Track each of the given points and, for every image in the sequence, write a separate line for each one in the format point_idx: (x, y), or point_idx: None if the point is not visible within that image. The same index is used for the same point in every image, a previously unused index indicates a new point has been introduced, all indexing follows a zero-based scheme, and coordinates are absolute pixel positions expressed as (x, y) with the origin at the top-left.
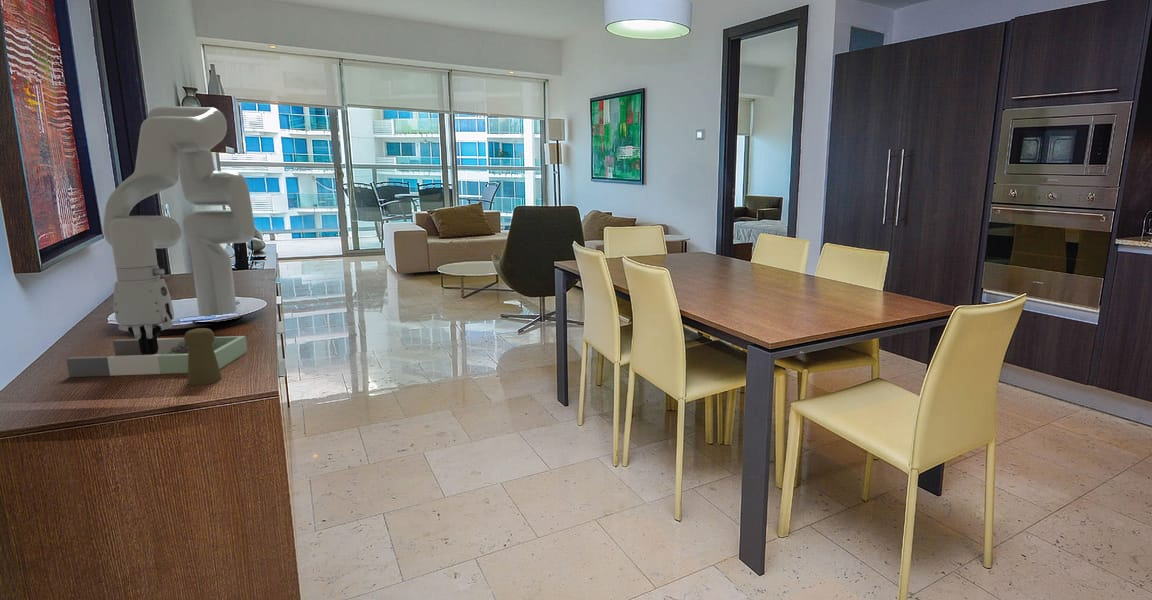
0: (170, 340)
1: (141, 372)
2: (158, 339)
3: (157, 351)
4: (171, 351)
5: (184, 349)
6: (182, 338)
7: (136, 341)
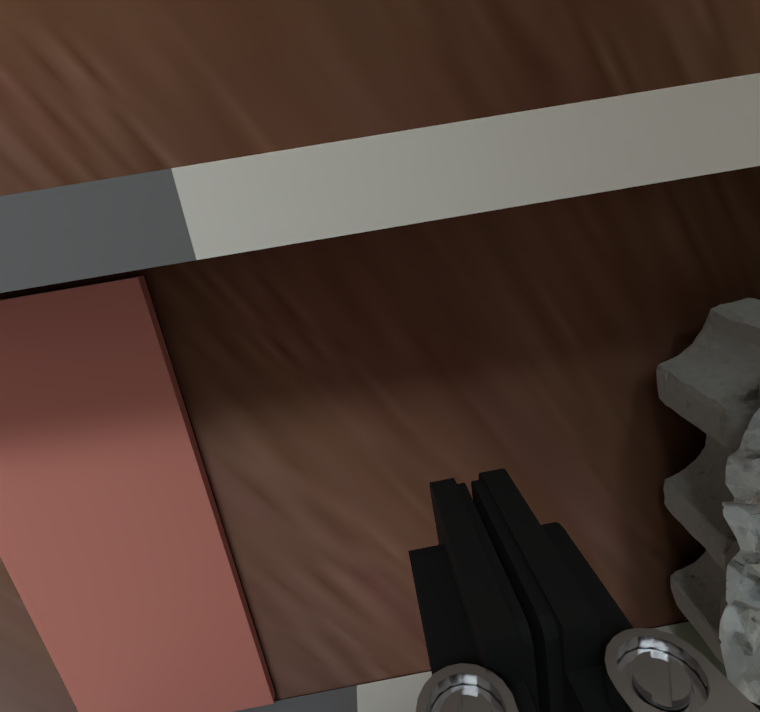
0: (516, 206)
1: None
2: (332, 226)
3: (504, 470)
4: (742, 574)
5: (743, 365)
6: (692, 139)
7: (2, 291)
